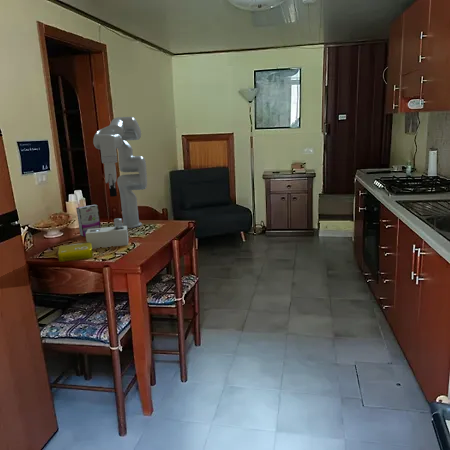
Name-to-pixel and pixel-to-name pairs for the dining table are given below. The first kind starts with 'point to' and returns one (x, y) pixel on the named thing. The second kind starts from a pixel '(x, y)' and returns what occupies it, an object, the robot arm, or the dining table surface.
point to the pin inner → (118, 223)
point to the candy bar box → (88, 218)
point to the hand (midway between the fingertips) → (113, 196)
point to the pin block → (107, 237)
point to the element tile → (75, 252)
